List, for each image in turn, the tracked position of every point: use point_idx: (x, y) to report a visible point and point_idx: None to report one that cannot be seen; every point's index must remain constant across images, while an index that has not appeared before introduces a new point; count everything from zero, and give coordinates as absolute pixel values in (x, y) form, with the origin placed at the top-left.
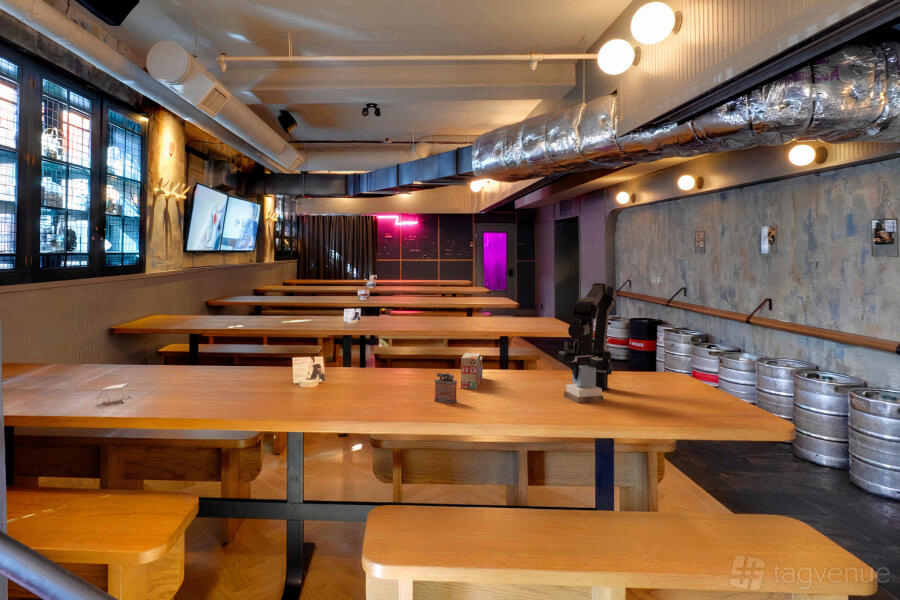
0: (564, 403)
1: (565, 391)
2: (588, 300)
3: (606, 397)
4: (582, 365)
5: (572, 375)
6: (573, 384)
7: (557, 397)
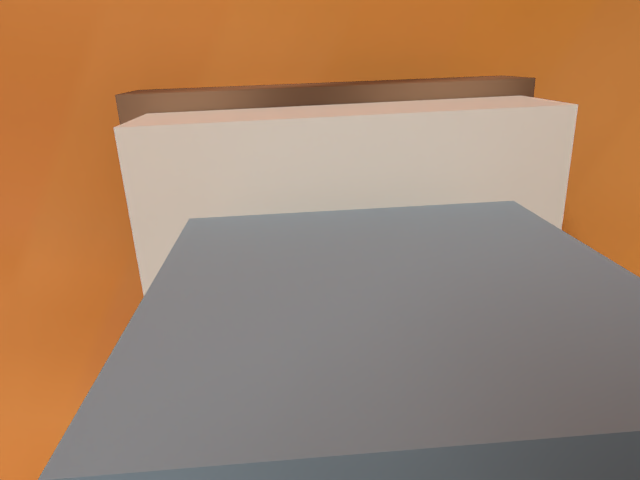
0: (36, 389)
1: (131, 119)
2: None
3: (623, 236)
4: (598, 444)
5: (159, 283)
6: (249, 156)
7: (29, 126)
